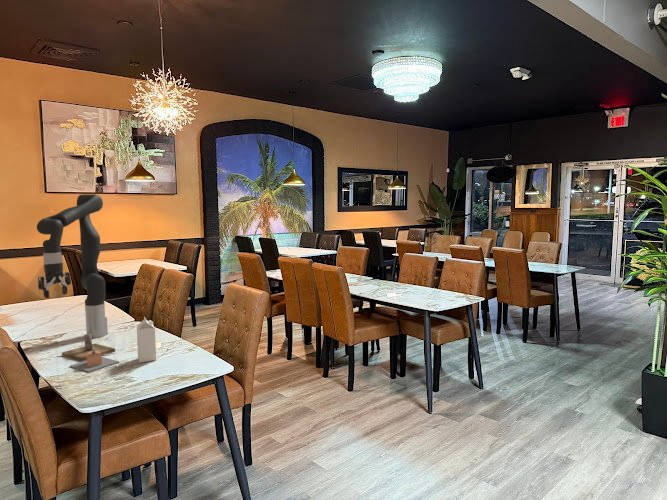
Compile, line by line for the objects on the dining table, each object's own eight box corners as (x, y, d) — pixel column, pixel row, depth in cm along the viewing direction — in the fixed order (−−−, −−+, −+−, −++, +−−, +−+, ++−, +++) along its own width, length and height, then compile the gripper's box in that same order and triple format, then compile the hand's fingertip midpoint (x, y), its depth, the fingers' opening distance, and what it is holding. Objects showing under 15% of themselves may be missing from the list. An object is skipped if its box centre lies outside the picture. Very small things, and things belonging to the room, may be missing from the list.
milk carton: (139, 363, 203) (137, 321, 201) (137, 358, 209) (136, 317, 208) (156, 360, 206) (154, 319, 205) (154, 355, 213) (152, 315, 211)
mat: (100, 357, 210) (99, 356, 210) (119, 362, 204) (119, 361, 204) (69, 366, 198) (69, 365, 198) (89, 372, 191) (89, 371, 191)
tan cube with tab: (86, 362, 202) (86, 349, 201) (100, 360, 205) (100, 347, 204) (87, 366, 197) (86, 353, 197) (102, 364, 200) (101, 351, 199)
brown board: (94, 346, 227) (93, 328, 226) (115, 351, 219) (114, 333, 218) (62, 355, 213) (60, 336, 212) (82, 361, 205) (81, 341, 205)
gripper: (62, 259, 221) (64, 292, 223) (32, 263, 209) (35, 298, 210) (72, 260, 218) (75, 293, 220) (43, 264, 206) (46, 300, 207)
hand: (56, 296), depth 215 cm, fingers open, 8 cm apart
